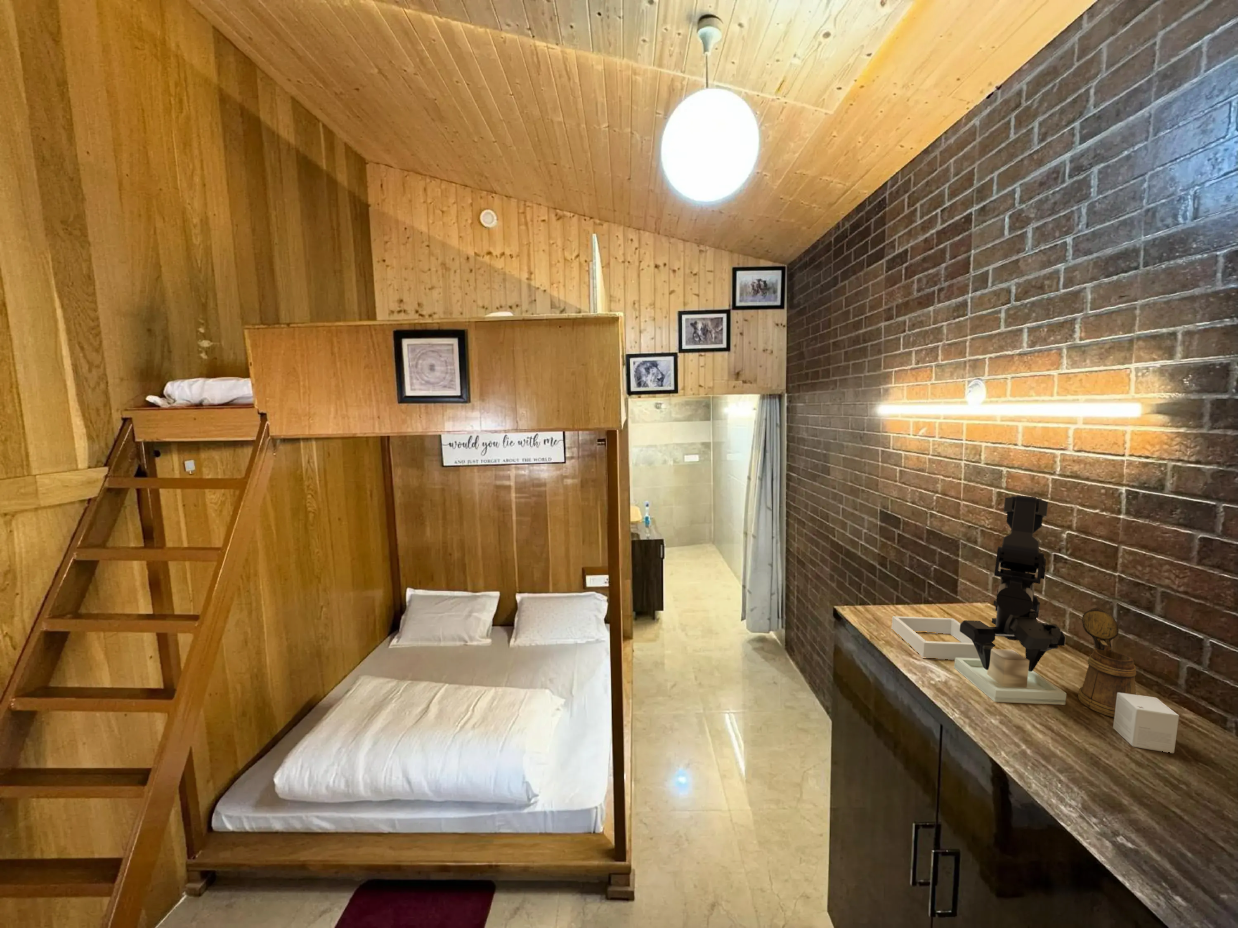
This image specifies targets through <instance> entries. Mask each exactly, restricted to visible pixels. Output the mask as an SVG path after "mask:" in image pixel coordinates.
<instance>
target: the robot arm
mask: <svg viewBox="0 0 1238 928" xmlns="http://www.w3.org/2000/svg"><path fill="white" fill-rule="evenodd" d="M1048 509H1049V501H1046V500H1043V498H1038V497H1037V496H1032V495H1031V496H1028V495H1019V494H1017V495H1011V496H1010V497H1004V504H1003V514H1005V515H1006V522H1005V523H1006V524H1007V525H1008V526H1009V528H1010V530H1011V531H1010V533H1009V534H1007V535H1006V536H1005V535H1004V536H1003V537H1002V544H1001V545H1000V546H999V545H998V546H997V552H996V559H995V566H994V567H995V568H994V574H993V576H994V577H999V587H998V588H997V589H996V599H995V600H993V603H992V604H993V605H994V606H995V612H996V617H995V618H994V617H992V618H991V623H992V624H993V625H995V626H988V624H986V623H984V622H982V621H981V620H971V619H970V620H969V619H968V620H966V619H965V620H962V621H961V622H960V623H961V624H960V632H961V633H963V634H964V635H966V636H967V637H968V638H970V639H971V640H972V642H973V644H974V646H975V648H976V650H977V652H978V655H979V657H980V660H981V663H982V665H983V667H984V669H986V670H988V669H989V665H990V656H991V649H992V648H993V649H994V647H996V644H995V643H993V642H994V641H995V640H996V637H1005V638H1007V639H1009V640H1017V641H1018V642H1020V645H1021V646H1022V647H1023V648H1025V649H1024V650H1025V658H1026V659H1028V660H1029V669H1028V671H1030V672H1032V671H1034V670H1035V668H1036V667H1037V665H1038V664H1039V662H1040V661H1041V659H1042V657H1043V656H1044V654H1045V653H1046V652H1049V651H1051V650H1054V649H1055V650H1056V649H1058V648H1059V646H1060V647H1064V646H1065V645H1066V639H1067V637H1066V635H1065V633H1064V632H1063V631H1062V630H1061V628H1060V627H1059V626H1058V625H1057V624H1051V623H1047V622H1039V621H1038V620H1037V619H1038V618H1039V614H1040V613H1039V612H1040V606H1041V602H1040V601H1039V599H1038V595H1035V586H1034V585H1035V584H1038V585H1040V584H1041V580H1045V577H1046V575H1045V574H1046V563H1047V558H1046V557H1045V554H1044V553H1043V552H1040V541H1039V540H1037V539H1036V538H1035V536H1034V534H1035V533H1037V531H1038V530H1040V529H1041V528H1042V525H1043V520H1044V519H1047V516H1048ZM999 568H1000V570H999ZM1036 574H1037V576H1036ZM1065 647H1066V646H1065Z"/></svg>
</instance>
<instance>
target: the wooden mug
mask: <svg viewBox="0 0 1238 928" xmlns="http://www.w3.org/2000/svg"><path fill="white" fill-rule="evenodd" d="M1081 622H1082V627H1083V630H1084V631H1085V632H1086V633H1087V634H1088V636H1090V637H1092V639H1093V644H1094V645H1093V650H1092V653H1091V654H1090V655H1089V657H1088V658H1087V661H1086V663H1087V664H1088V667H1087V671H1086V673H1085V677H1084V681H1083V683H1082V686H1081V687H1080V688H1079V690H1078V696H1077V699H1078V700H1079V701H1080V702H1081V704H1082V705H1084V706H1085V707H1087V708H1089V709H1091V710H1092V711H1095V712H1097V713H1099V714H1101V715H1105V716H1107V717H1110V718H1114V717H1115V708H1116V699H1117V693H1126V694H1133V695H1137V690H1136V688H1137V687H1136V677H1135V676H1136V675H1137V669H1136V668H1137V666H1136V665H1135V661H1134V658H1133V657H1132V656H1130V655H1127V654H1124V653H1121V652H1117V651H1114V650H1113V647H1112V643H1111V641H1112V640H1114V639H1115V638H1116V637H1118V636H1119V624H1118V622H1117V620H1116V619H1115V617H1113V616H1112V615H1111V614H1110V613H1108V612H1107V611H1106V610H1104V609H1102V608H1100V607H1098V606H1096V607H1094V608H1091V609H1089V610H1087V611H1086V612H1084V613H1083V614H1082V619H1081Z"/></svg>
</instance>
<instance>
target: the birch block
mask: <svg viewBox="0 0 1238 928" xmlns="http://www.w3.org/2000/svg"><path fill="white" fill-rule="evenodd" d="M1028 669H1029V660H1028V659H1026V656H1023V655H1022V654H1020V653H1018V652H1017V651H1016V650H1014V649H1005V648H1003V649H1001V648H993V649H991V656H990V665H989V669H988V670H987V675H989V676H990V677H991V678H992V679H994V680H995V681H996V682H998V683H999V684H1000V685H1001V686H1008V687H1027V679H1028Z"/></svg>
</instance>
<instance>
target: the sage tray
mask: <svg viewBox="0 0 1238 928" xmlns="http://www.w3.org/2000/svg"><path fill="white" fill-rule="evenodd" d="M953 668H954V669H955V670H956V671H958V673H960V674H961V675H962V676H963V677H964V678H966V679H967V680H968V681H969V682H971V684H973V685H974V686H975V687H976V688H978V689H979V690H980V691H981V692H982V693H983V694H985V695H986V696H987V697H988V698H990V700H992V701H993V702H994V703H1018V704H1035V705H1038V704H1039V705H1040V704H1041V705H1063V706H1065V705H1066V702H1067V693H1066V692H1065V691H1064V690H1062V689H1061V688H1060V687H1058V686H1057V685H1056V684H1053V683H1052V682H1051V681H1049V680H1048V679H1046V678H1045V677H1043V676H1042V675H1040V674H1039V673H1037V672H1036V671H1034V670H1033V671H1032V672H1030V671H1028V679H1027V687H1008V686H1001V685H1000V684H999V683H998V682H996V681H995V680H994V679H992V678H991V677H990V676H989V675H987V670H986V669H984V667H983V665H982V663H981V660H980V659H978V658H955V660H954V665H953Z"/></svg>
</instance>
